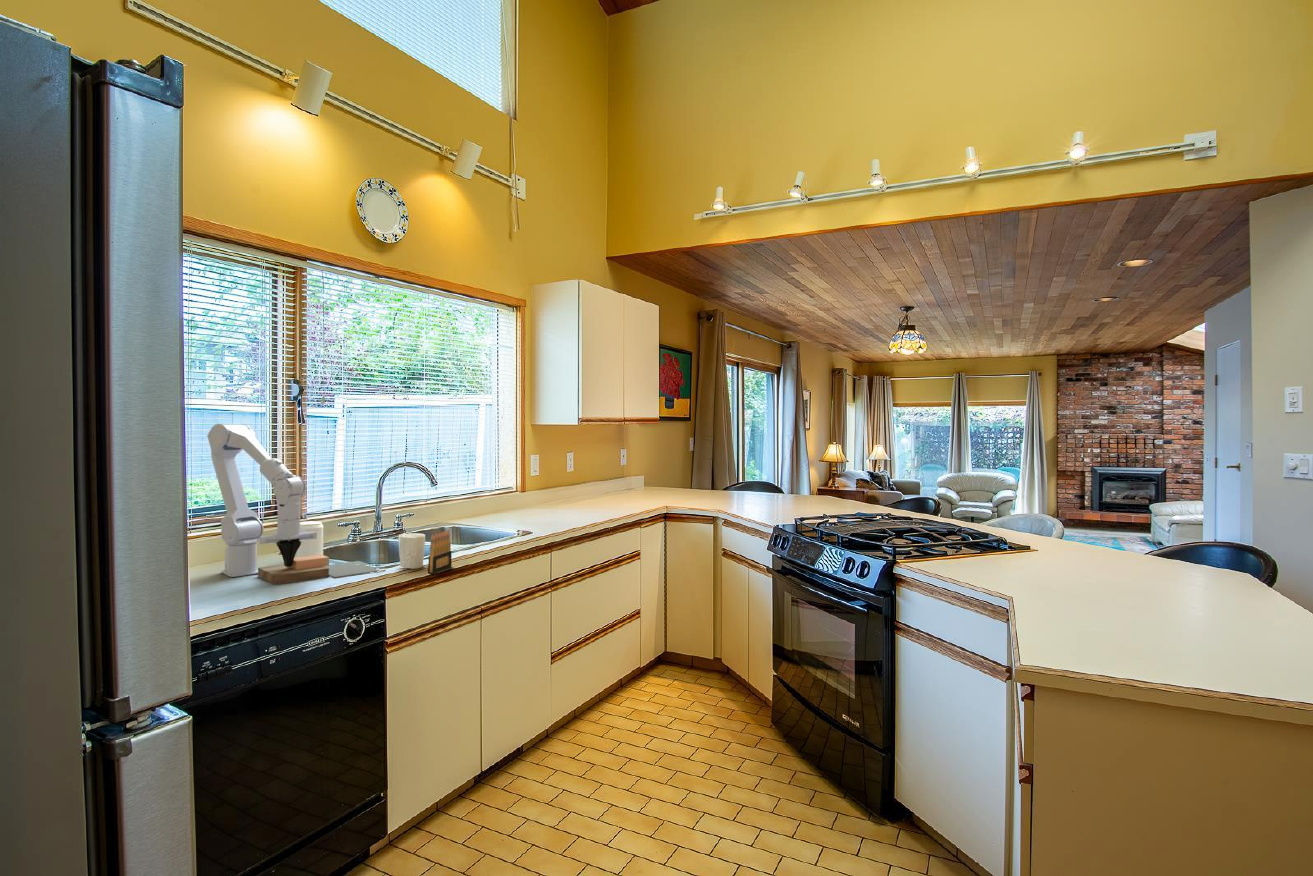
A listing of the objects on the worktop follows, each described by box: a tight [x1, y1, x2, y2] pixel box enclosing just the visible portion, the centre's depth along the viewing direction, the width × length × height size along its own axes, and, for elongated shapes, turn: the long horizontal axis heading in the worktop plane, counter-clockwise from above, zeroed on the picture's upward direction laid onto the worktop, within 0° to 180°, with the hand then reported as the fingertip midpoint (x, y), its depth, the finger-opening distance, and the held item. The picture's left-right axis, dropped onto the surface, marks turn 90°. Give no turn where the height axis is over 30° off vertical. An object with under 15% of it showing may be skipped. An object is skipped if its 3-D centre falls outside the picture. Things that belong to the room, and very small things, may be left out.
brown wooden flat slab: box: [257, 564, 330, 586], centre depth 190 cm, size 14×14×2 cm
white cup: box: [398, 532, 426, 570], centre depth 206 cm, size 8×8×10 cm
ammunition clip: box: [427, 529, 453, 575], centre depth 203 cm, size 11×2×12 cm, turn 168°
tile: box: [291, 554, 330, 570], centre depth 193 cm, size 6×9×2 cm, turn 138°
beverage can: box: [294, 520, 324, 558], centre depth 215 cm, size 8×8×12 cm
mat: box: [324, 560, 380, 579], centre depth 200 cm, size 18×15×1 cm
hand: (288, 566), depth 189 cm, fingers closed
